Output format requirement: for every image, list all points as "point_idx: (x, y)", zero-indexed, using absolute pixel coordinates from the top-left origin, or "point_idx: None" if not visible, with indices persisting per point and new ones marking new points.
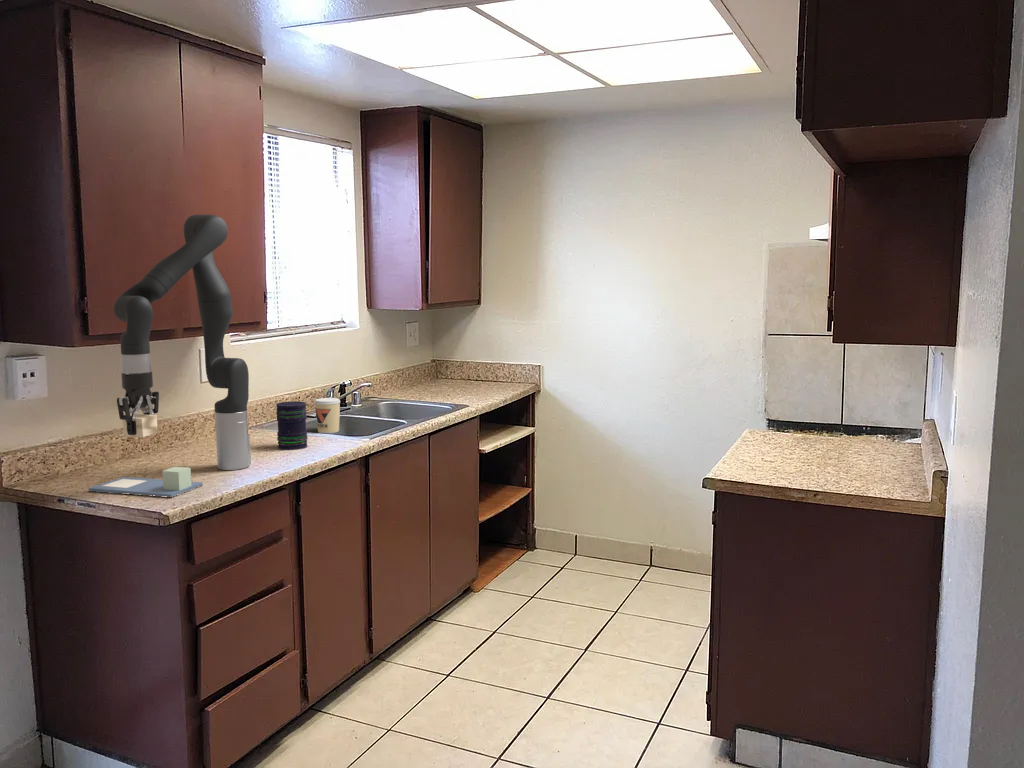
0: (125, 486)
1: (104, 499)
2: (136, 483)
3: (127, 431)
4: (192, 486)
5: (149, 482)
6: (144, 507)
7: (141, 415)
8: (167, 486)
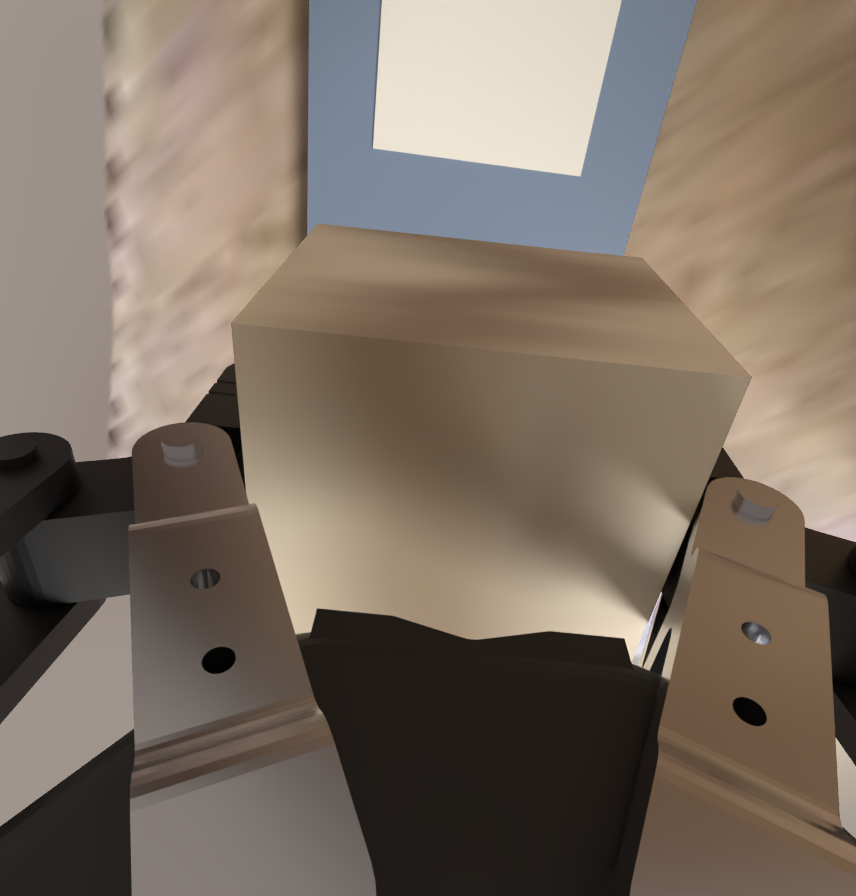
0: (404, 116)
1: (179, 111)
2: (495, 146)
3: (231, 370)
4: None
5: (537, 221)
6: (139, 432)
7: (567, 526)
8: None
